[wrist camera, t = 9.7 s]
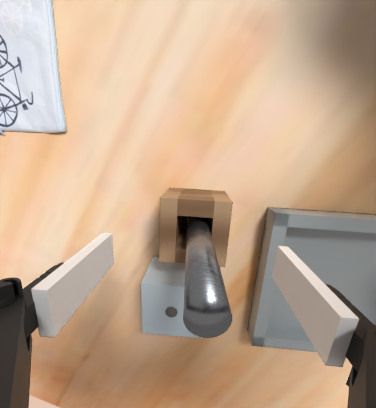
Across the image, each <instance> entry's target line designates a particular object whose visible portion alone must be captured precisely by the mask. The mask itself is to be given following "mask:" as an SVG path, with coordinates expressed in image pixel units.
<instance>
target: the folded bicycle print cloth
mask: <svg viewBox="0 0 376 408" xmlns="http://www.w3.org/2000/svg"><path fill="white" fill-rule="evenodd" d="M3 131H22V132H41V133H60V132H66V122H65V114H64V108H63V101H62V93H61V83H60V75H59V66H58V55H57V43H56V34H55V25H54V15H53V5H52V0H0V134H3V135H4V136H6V135H5V134H4V133H3Z"/></svg>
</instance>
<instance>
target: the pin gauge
mask: <svg viewBox="0 0 376 408" xmlns="http://www.w3.org/2000/svg"><path fill="white" fill-rule="evenodd" d="M183 322H184V325H185V327H186V328H187V330H188V331H189V332H191V333H192V334H194V335H196V336H199V337H203V338H212V337H216V336H219V335H221V334H223V333H224V332H225V331H226V330H227V329H228V328H229V327H230V325H231V322H232V314H231V310H230V306H229V302H228V298H227V294H226V290H225V287H224V283H223V279H222V275H221V271H220V267H219V263H218V260H217V256H216V252H215V248H214V244H213V240H212V237H211V233H210V229H209V225H208V221H207V218H206V217H192V216H188V219H187V241H186V264H185V287H184V309H183Z"/></svg>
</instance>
